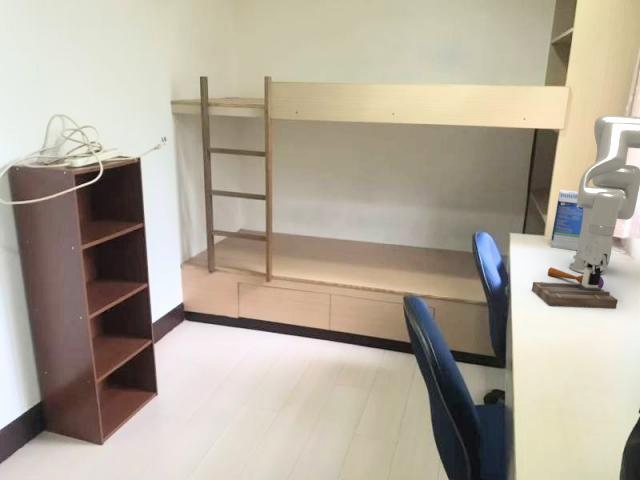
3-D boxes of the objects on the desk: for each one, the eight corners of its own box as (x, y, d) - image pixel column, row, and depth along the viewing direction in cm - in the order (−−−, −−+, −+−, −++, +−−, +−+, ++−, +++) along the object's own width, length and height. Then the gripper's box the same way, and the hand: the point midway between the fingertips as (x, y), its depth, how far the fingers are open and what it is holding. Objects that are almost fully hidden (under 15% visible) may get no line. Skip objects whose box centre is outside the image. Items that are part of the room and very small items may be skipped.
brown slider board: (531, 290, 183) (533, 278, 182) (593, 292, 184) (595, 281, 182) (549, 305, 169) (551, 293, 168) (615, 308, 170) (618, 296, 169)
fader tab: (578, 287, 178) (582, 266, 176) (592, 288, 178) (596, 267, 176) (584, 292, 174) (589, 271, 171) (599, 293, 174) (604, 271, 172)
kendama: (556, 264, 201) (608, 276, 185) (553, 279, 201) (604, 292, 185) (547, 263, 197) (600, 276, 181) (544, 278, 198) (596, 292, 182)
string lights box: (581, 247, 240) (592, 192, 233) (581, 252, 233) (593, 195, 226) (550, 243, 245) (559, 189, 238) (549, 247, 238) (559, 191, 231)
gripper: (577, 223, 178) (567, 274, 183) (603, 236, 162) (592, 291, 167) (599, 224, 178) (588, 274, 183) (627, 237, 162) (614, 292, 167)
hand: (590, 282), depth 175 cm, fingers closed on fader tab, 3 cm apart
